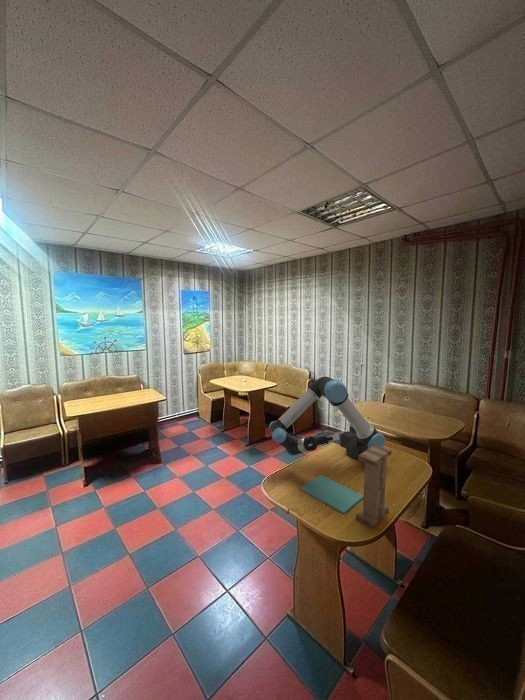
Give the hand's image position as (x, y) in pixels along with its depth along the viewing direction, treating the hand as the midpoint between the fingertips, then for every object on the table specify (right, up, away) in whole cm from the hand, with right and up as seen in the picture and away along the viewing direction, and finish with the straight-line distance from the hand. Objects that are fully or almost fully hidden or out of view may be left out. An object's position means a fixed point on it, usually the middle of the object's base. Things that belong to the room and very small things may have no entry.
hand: (340, 435), depth 140 cm
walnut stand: (+12, -34, -9) cm, 37 cm away
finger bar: (-1, -4, +1) cm, 4 cm away
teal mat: (-3, -32, +7) cm, 33 cm away
